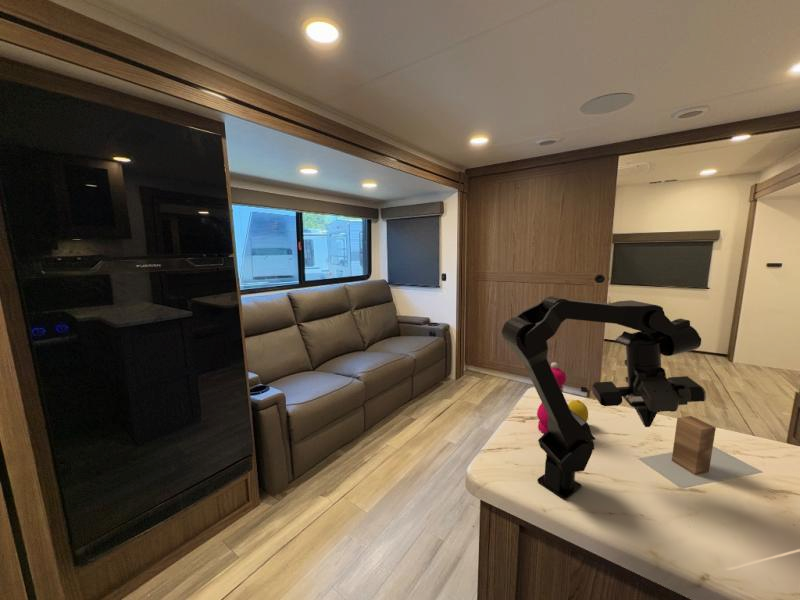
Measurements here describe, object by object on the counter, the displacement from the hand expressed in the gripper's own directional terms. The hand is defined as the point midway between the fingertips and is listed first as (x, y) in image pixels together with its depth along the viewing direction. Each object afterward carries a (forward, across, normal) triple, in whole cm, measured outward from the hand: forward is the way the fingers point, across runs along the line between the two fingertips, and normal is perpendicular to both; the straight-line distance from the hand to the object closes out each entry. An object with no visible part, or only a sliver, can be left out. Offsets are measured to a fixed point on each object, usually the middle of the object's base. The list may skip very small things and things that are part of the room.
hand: (646, 426), depth 69 cm
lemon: (+12, -10, +18) cm, 24 cm away
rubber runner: (+15, +12, +5) cm, 20 cm away
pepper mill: (+11, -18, +14) cm, 25 cm away
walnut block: (+14, +10, +4) cm, 18 cm away
